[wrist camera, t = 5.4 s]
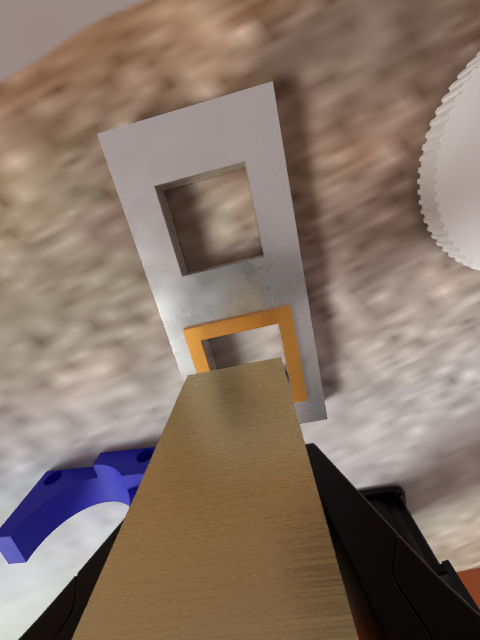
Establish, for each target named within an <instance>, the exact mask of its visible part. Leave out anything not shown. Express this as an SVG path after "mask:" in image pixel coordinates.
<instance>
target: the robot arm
mask: <svg viewBox="0 0 480 640" xmlns="http://www.w3.org/2000/svg"><path fill="white" fill-rule="evenodd" d="M305 446H306V450H307V453H308V457H309V461H310V464H311V468H312V472H313V475H314V479H315V482H316V486H317V490H318V493H319V497H320V501H321V504H322V508H323V512H324V515H325V519H326V523H327V526H328V530H329V533H330V537H331V541H332V544H333V548H334V552H335V555H336V559H337V563H338V566H339V570H340V573H341V577H342V581H343V584H344V588H345V592H346V595H347V599H348V603H349V606H350V610H351V614H352V617H353V621H354V624H355V628H356V632H357V635H358V639H359V640H480V610H479V608H478V607H477V605H476V604H475V602H474V600H473V599H472V597H471V596H470V594H469V592H468V591H467V589H466V588H465V586H464V584H463V583H462V581H461V580H460V578H459V576H458V575H457V573H456V571H455V570H454V568H453V567H452V565H451V563H450V562H449V560H445V561H442V564H439V562H438V560H437V558H436V557H435V555H434V553H433V552H432V550H431V548H430V547H429V545H428V543H427V541H426V540H425V538H424V536H423V535H422V533H421V531H420V530H419V528H418V526H417V524H416V523H415V521H414V519H413V518H412V516H411V514H410V512H409V511H408V509H407V507H406V501H405V492H404V490H403V489H402V488H401V487H399V486H397V487H390V488H384V489H378V490H371V491H365V492H359V491H358V490H357V489H356V488H355V487H354V486H353V485H352V484H351V483H350V481H349V480H348V479H347V478H346V477H345V476H344V475H343V474H342V473H341V472H340V471H339V470H338V469H337V467H336V466H335V465H334V464H333V463H332V462H331V461H330V460H329V459H328V458H327V457H326V456H325V454H324V453H323V452H322V451H321V450H320V449H319V448H318V447H317V446H316V445H315V444H314V443H310V444H305ZM124 519H125V518H124ZM124 519H123V521H124ZM123 521H122V522H121V523H120V524H119V525H118V526H117V528H116V529H115V530H114V531H113V532H112V534H111V535H110V536H109V537H108V538H107V539H106V541H105V542H104V543H103V544H102V545H101V546H100V548H99V549H98V550H97V551H96V552H95V553H94V555H93V556H92V557H91V558H90V559H89V560H88V562H87V563H86V564H85V565H84V566H83V567H82V569H81V570H80V571H79V572H78V574H77V576H75V577H74V578H73V579H72V580H71V581H70V583H69V584H68V585H67V586H66V587H65V588H64V590H63V591H62V592H61V593H60V594H59V595H58V596H57V598H56V599H55V600H54V601H53V602H52V603H51V604H50V605H49V607H48V608H47V609H46V610H45V611H44V612H43V613H42V615H41V616H40V617H39V618H38V619H37V620H36V621H35V622H34V623H33V624H32V625H31V627H30V628H29V629H28V630H27V631H26V632H25V633H24V634H23V635H22V636H21V637H20V638H19V639H18V640H72V638H73V635H74V633H75V631H76V628H77V626H78V624H79V622H80V619H81V617H82V615H83V613H84V610H85V608H86V606H87V603H88V601H89V599H90V597H91V594H92V592H93V590H94V587H95V585H96V583H97V581H98V578H99V576H100V574H101V572H102V569H103V567H104V565H105V562H106V560H107V558H108V556H109V553H110V551H111V549H112V547H113V544H114V542H115V540H116V537H117V535H118V533H119V531H120V528H121V526H122V524H123Z"/></svg>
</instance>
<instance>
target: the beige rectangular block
mask: <svg viewBox="0 0 480 640" xmlns="http://www.w3.org/2000/svg"><path fill="white" fill-rule="evenodd" d="M72 640H359V639H358V635H357V632H356V628H355V624H354V621H353V617H352V614H351V610H350V606H349V603H348V599H347V595H346V592H345V588H344V584H343V581H342V577H341V573H340V570H339V566H338V563H337V559H336V555H335V552H334V548H333V544H332V541H331V537H330V533H329V530H328V526H327V523H326V519H325V515H324V512H323V508H322V504H321V501H320V497H319V493H318V490H317V486H316V482H315V479H314V475H313V472H312V468H311V464H310V461H309V457H308V453H307V450H306V446H305V442H304V439H303V435H302V431H301V428H300V424H299V421H298V417H297V413H296V410H295V406H294V402H293V399H292V395H291V391H290V388H289V384H288V381H287V377H286V373H285V370H284V366H283V362H282V359H281V357H280V358H275V359H269V360H264V361H259V362H254V363H249V364H243V365H238V366H233V367H228V368H223V369H217V370H212V371H207V372H202V373H197V374H192V375H188V376H187V378H186V380H185V383H184V385H183V387H182V389H181V392H180V394H179V396H178V398H177V401H176V403H175V405H174V408H173V410H172V412H171V414H170V417H169V419H168V421H167V424H166V426H165V428H164V430H163V433H162V435H161V437H160V439H159V442H158V444H157V446H156V449H155V451H154V453H153V455H152V458H151V460H150V462H149V465H148V467H147V469H146V471H145V474H144V476H143V478H142V480H141V483H140V485H139V487H138V490H137V492H136V494H135V496H134V499H133V501H132V503H131V506H130V508H129V510H128V512H127V515H126V517H125V519H124V521H123V524H122V526H121V528H120V531H119V533H118V535H117V537H116V540H115V542H114V544H113V547H112V549H111V551H110V553H109V556H108V558H107V560H106V562H105V565H104V567H103V569H102V572H101V574H100V576H99V578H98V581H97V583H96V585H95V587H94V590H93V592H92V594H91V597H90V599H89V601H88V603H87V606H86V608H85V610H84V613H83V615H82V617H81V619H80V622H79V624H78V626H77V628H76V631H75V633H74V635H73V638H72Z"/></svg>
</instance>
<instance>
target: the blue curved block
mask: <svg viewBox="0 0 480 640" xmlns="http://www.w3.org/2000/svg"><path fill="white" fill-rule="evenodd" d="M155 449H156V447H150V448H141V449H132V450H123V451H114V452H105V453H100V455H99V456H98V458H97V460H96V461H95V463H94V464H93V466H94V467H85V468H76V469H67V470H57V471H48V472H46V473H45V474H44V475H43V477H42V478H41V479H40V480H39V481H38V483H37V484H36V485H35V486H34V487H33V489H32V490H31V491H30V492H29V494H28V495H27V496H26V497H25V498H24V500H23V501H22V502H21V503H20V504H19V506H18V507H17V508H16V509H15V511H14V512H13V513H12V514H11V515H10V517H9V518H8V519H7V520H6V521H5V523H4V524H3V525H2V526H1V528H0V551H1V553H2V555H3V556H4V558H5V559H6V561H7V562H8V564H12V563H24V562H27V561H28V559H29V558H30V556H31V555H32V554H33V552H34V551H35V550H36V548H37V547H38V546H39V545H40V544H41V543H42V542H43V541H44V539H45V538H46V537H47V536H48V535H49V534H50V533H51V532H53V531H54V530H55V529H56V528H57V527H58V526H59V525H61V524H62V523H63V522H64V521H66V520H67V519H69V518H70V517H72V516H73V515H75V514H76V513H78V512H80V511H82V510H84V509H86V508H88V507H90V506H93V505H95V504H99V503H103V502H110V501H116V502H122V503H125V504H127V505H129V506H131V503H132V501H133V499H134V496H135V494H136V492H137V490H138V487H139V485H140V483H141V480H142V478H143V476H144V474H145V471H146V469H147V467H148V465H149V462H150V460H151V458H152V455H153V453H154V451H155Z"/></svg>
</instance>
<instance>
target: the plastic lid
mask: <svg viewBox="0 0 480 640" xmlns="http://www.w3.org/2000/svg"><path fill="white" fill-rule="evenodd" d="M466 67H467V68H466V69H464V70H463V71H462V72H460V73H459V75H458V76H457V78H458V80H457V81H455V82H454V83H452V84H451V86H450V87H449V90H450V92H449V93H447V94H446V95H445V96H444V97H443V98H442V100H441V101H442V105H441V106H440V107H438V108H437V109H436V111H435V114H436V117H435V118H434V119H433V120H431V122H430V126H431V129H430V131H428V132H427V133H426V136H425V138H426V139H427V141H426V143H425V144H423V146H422V150H423V151H424V152H423V155H422V156H420V159H419V162H421V167H420V168H418V173H420V178H419V179H418V180H417V184H419V185H420V189H419V190H418V191H417V192H418V195H420V197H421V199H420V200H419V205H422V209H421V214H424V216H425V218H424V219H423V221H424V223H427V224H428V227H427V230H428V231H429V232H432V235H431V237H432V239H436V240H437V242H436V244H437V245H438V246H442V247H443V248H442V251H443V252H448V256H449V257H451V258H455V261H456V262H461V263H462V265H464V266H469V267H470V268H472V269H477V270H479V271H480V51H479V52H478V53H477V54H476V57H475V58H474V59H472V60H471V61H470V62H469V63H468V64H467V65H466Z"/></svg>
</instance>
